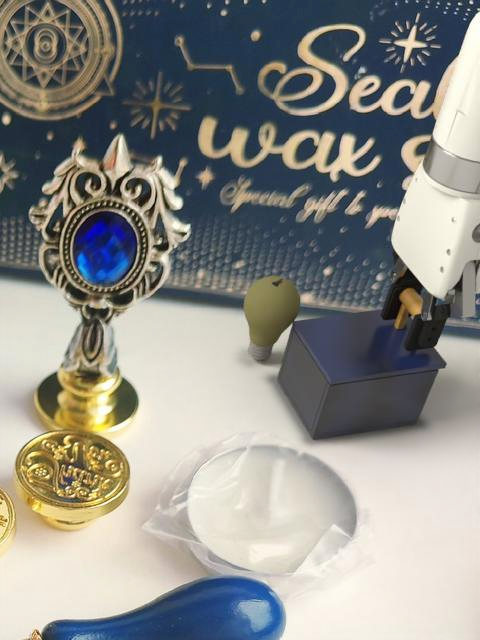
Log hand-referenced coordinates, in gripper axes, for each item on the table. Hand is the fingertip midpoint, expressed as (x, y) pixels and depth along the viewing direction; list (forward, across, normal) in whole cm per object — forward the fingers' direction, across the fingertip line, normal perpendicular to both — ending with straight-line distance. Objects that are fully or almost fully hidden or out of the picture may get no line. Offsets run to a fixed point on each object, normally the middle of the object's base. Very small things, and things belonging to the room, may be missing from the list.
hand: (407, 330), depth 105 cm
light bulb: (+9, +8, +10) cm, 16 cm away
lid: (+1, 0, +4) cm, 4 cm away
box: (+9, 0, +4) cm, 9 cm away
